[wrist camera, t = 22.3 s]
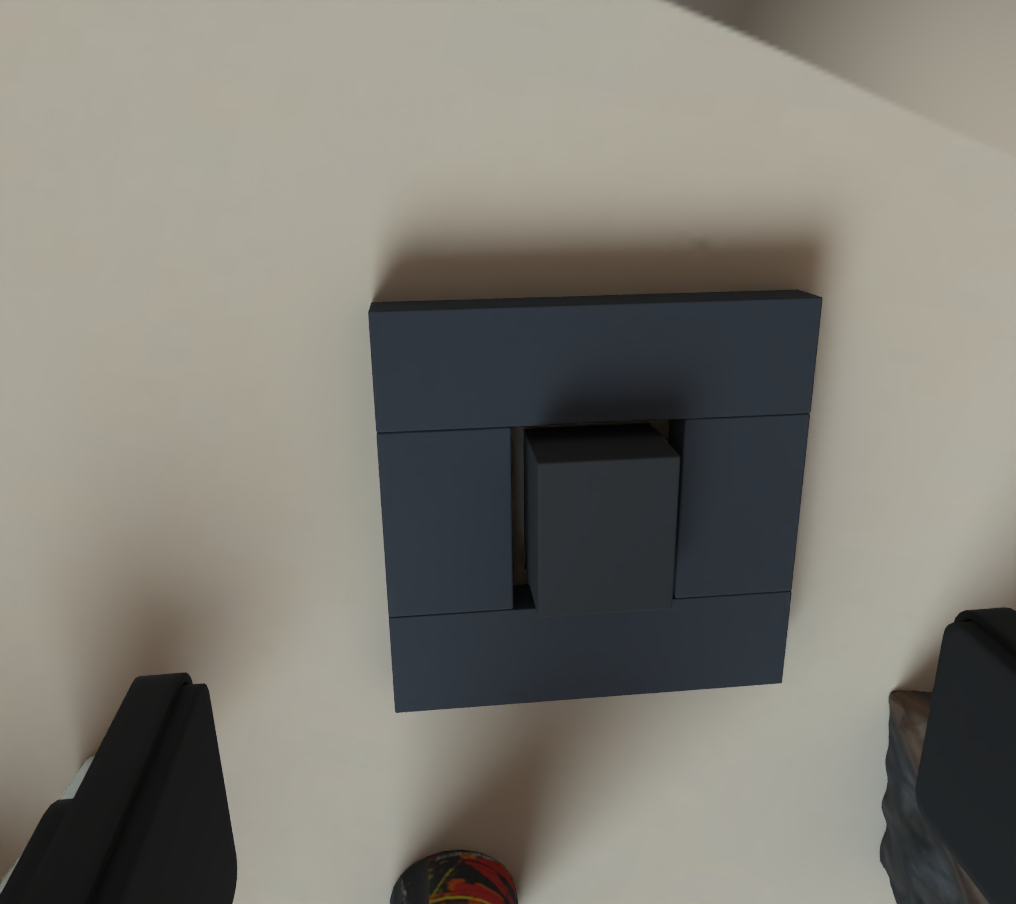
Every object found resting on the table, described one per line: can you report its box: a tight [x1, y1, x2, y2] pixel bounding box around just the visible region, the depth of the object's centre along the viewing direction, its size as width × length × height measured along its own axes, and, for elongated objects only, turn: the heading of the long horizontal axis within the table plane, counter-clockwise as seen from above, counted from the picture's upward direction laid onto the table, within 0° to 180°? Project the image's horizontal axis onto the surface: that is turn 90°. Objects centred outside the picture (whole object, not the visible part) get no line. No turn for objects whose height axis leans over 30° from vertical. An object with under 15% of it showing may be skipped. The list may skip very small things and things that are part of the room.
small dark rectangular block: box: [524, 423, 680, 617], centre depth 32 cm, size 6×5×4 cm
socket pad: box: [368, 290, 822, 713], centre depth 33 cm, size 16×16×2 cm
